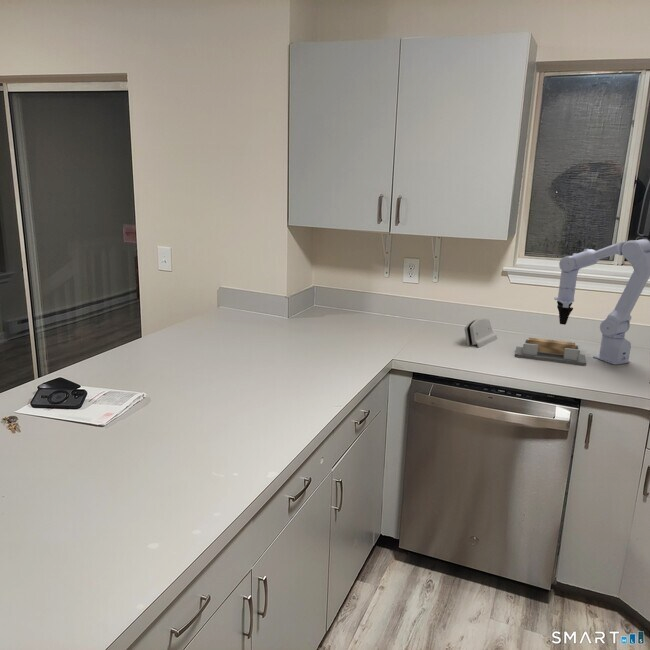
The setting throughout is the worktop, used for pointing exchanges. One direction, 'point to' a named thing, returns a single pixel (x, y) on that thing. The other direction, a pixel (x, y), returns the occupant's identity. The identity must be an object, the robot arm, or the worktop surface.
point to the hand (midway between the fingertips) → (562, 321)
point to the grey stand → (479, 332)
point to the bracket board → (551, 354)
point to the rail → (551, 345)
